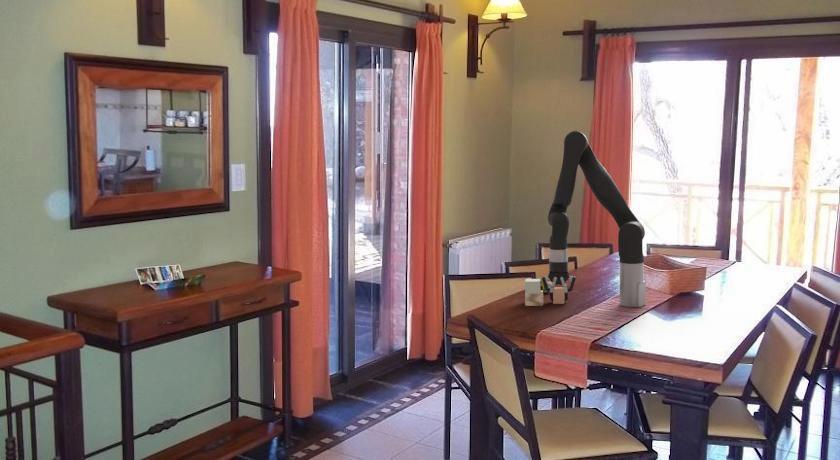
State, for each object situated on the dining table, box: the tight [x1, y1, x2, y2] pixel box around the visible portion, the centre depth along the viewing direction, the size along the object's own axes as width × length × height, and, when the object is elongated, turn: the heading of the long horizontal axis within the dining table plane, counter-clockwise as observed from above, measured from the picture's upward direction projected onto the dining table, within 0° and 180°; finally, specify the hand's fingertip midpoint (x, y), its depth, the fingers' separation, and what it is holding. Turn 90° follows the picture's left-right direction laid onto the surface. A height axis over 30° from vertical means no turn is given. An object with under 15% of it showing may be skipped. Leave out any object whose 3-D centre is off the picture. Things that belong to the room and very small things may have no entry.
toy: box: [539, 278, 552, 294], centre depth 337 cm, size 7×7×15 cm
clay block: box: [552, 286, 565, 305], centre depth 319 cm, size 4×4×6 cm
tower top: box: [524, 278, 541, 295], centre depth 318 cm, size 6×6×5 cm
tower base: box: [524, 291, 544, 307], centre depth 318 cm, size 7×7×5 cm
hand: (558, 301), depth 319 cm, fingers closed on clay block, 4 cm apart
